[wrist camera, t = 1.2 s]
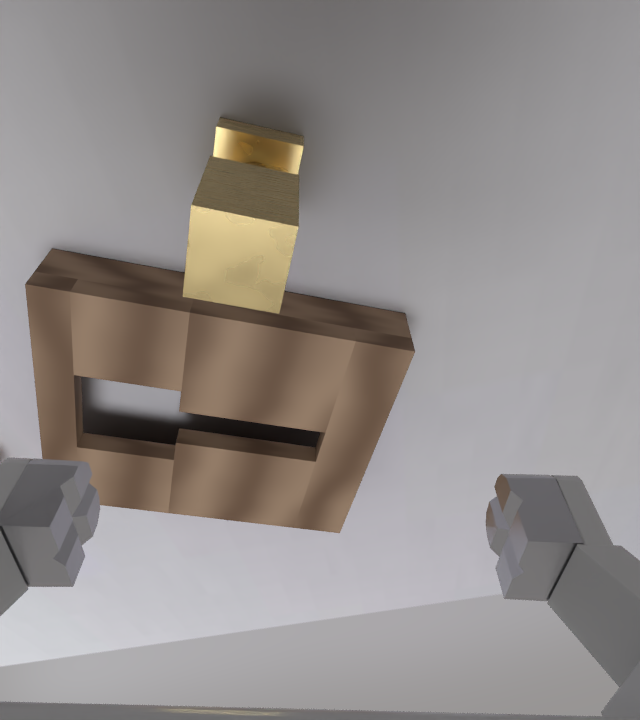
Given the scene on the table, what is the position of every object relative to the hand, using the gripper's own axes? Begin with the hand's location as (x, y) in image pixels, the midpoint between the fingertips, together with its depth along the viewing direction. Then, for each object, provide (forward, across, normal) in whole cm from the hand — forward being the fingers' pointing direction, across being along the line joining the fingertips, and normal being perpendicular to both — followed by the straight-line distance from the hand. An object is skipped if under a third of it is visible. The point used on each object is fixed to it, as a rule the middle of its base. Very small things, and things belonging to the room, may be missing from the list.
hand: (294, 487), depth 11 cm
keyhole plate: (+26, +7, +20) cm, 34 cm away
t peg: (+26, +3, +2) cm, 27 cm away
